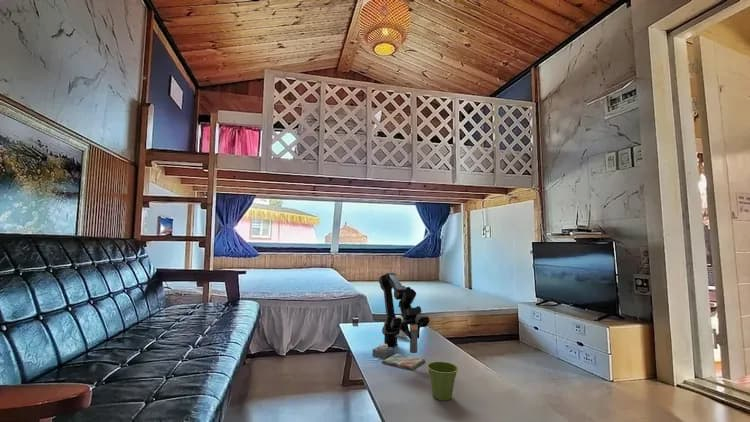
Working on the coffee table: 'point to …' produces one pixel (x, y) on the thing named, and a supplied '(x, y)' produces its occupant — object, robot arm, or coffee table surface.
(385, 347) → the button
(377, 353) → the button housing
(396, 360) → the picture board
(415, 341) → the marker
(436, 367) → the plant pot
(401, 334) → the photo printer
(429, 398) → the coffee table surface
